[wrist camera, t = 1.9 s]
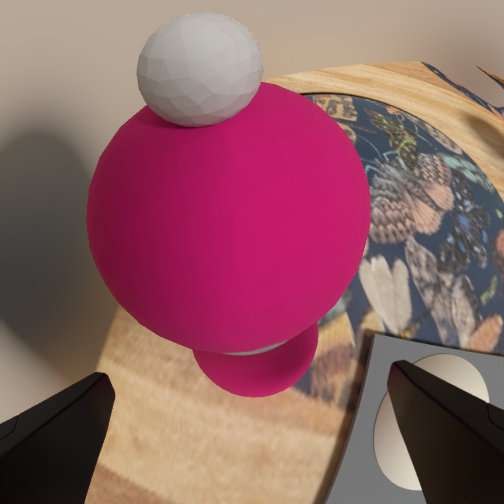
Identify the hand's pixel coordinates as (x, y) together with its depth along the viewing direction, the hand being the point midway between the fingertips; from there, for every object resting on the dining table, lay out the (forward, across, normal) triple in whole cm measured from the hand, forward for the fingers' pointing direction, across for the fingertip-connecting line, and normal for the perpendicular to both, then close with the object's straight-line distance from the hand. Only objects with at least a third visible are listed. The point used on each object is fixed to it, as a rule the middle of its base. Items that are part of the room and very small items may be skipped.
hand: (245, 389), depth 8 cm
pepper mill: (+11, 0, +6) cm, 13 cm away
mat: (+3, -13, +14) cm, 19 cm away
